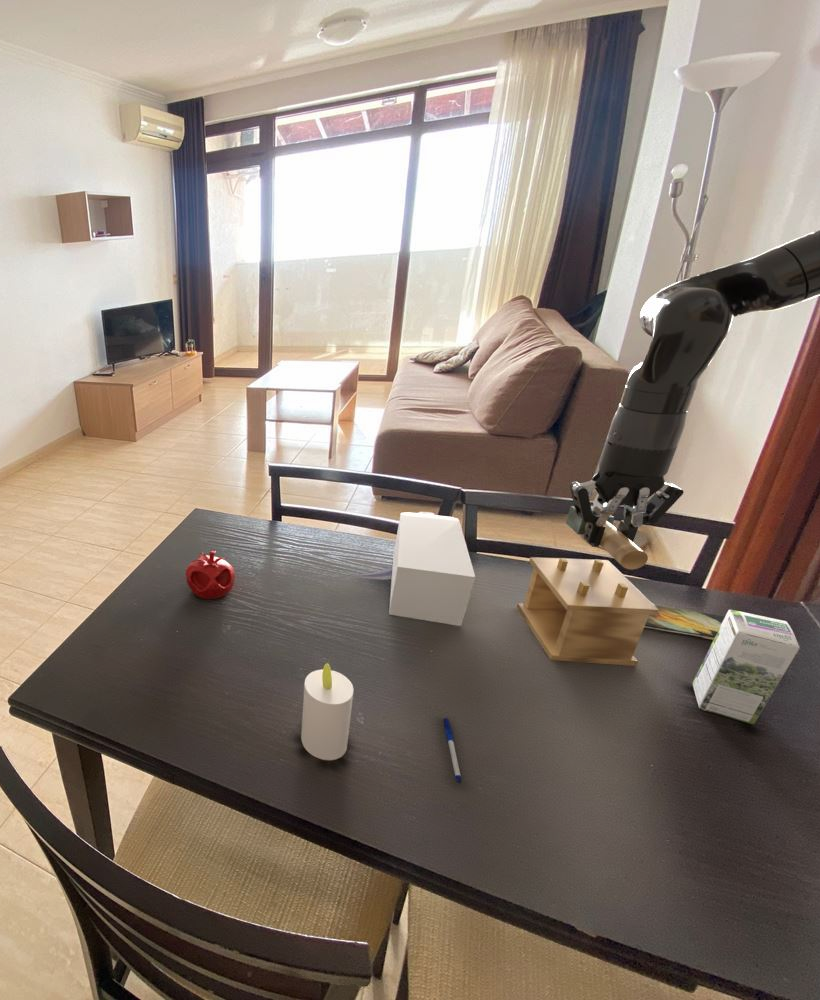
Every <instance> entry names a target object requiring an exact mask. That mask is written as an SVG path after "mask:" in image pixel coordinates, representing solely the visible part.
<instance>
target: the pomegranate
mask: <svg viewBox="0 0 820 1000" xmlns="http://www.w3.org/2000/svg"><path fill="white" fill-rule="evenodd" d="M216 552H217V550H214V551H213V550H211V551H209V552H208V554H209V555H206V553H204V552H198V555H199V557H198V558H196V559H195V560H193V561H191V562H190V563H189V565H188V566H187V567H186V569H185V577H186V578H185V579H186V580H185V581H186V583H187V585H188V588H189V589H190V591H191V592H192V593H193V594H194V595H195V596H196V597H199V598H201V599H204V600H215V599H220V598H223V597H225V596H226V595H227V594H229V593H230V592H231V591H232V589H233V587H234V583H235V579H236V576H235V574H236V573H235V569H234V567H233V566H232V564H230V563H229V562H228V561H226V560H227V559H228V557H226V558H225V557H222V556H221V557H217V556H215V555H216Z"/></svg>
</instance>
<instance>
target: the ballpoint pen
mask: <svg viewBox="0 0 820 1000" xmlns="http://www.w3.org/2000/svg"><path fill="white" fill-rule="evenodd" d="M443 725H444V730H445V736H446V740H447V742H448V748H449V752H450V757H451V761H452V767H453V771H454V777H455V779H456V781H457V783H460V784H461V783H462V776H461V771H460V767H459V762H458V758H457V753H456V747H455V742H454V737H453V733H452V728H451V723H450V720H449V718H448V717H445V718H444V719H443Z"/></svg>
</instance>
